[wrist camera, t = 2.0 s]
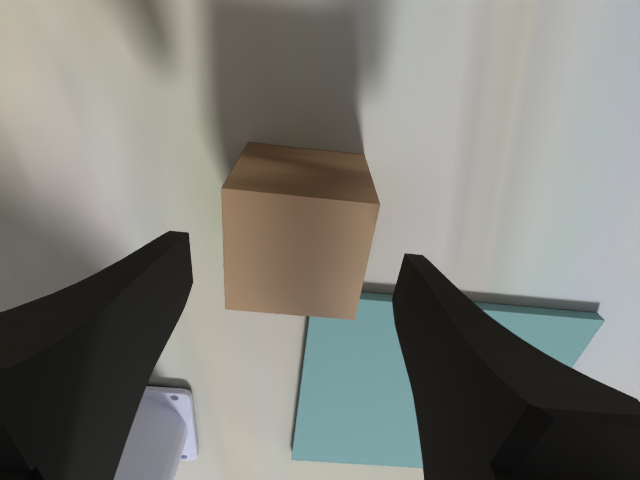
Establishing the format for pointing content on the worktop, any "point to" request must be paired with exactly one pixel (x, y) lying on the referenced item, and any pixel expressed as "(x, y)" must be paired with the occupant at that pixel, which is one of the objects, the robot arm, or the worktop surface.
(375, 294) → the mat
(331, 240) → the walnut cube
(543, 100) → the worktop surface
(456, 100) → the worktop surface
